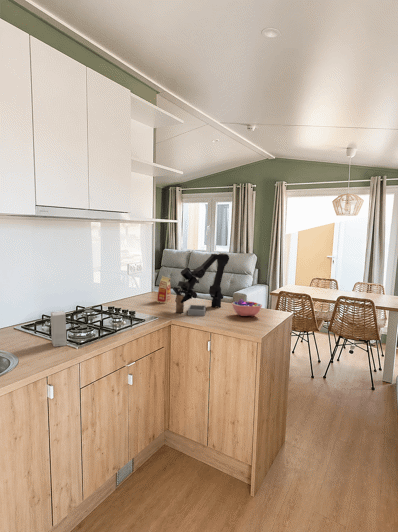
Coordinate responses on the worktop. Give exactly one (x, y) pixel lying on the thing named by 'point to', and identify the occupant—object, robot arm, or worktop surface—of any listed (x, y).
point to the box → (196, 310)
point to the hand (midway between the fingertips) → (178, 302)
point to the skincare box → (58, 328)
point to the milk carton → (164, 290)
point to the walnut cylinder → (179, 303)
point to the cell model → (246, 308)
